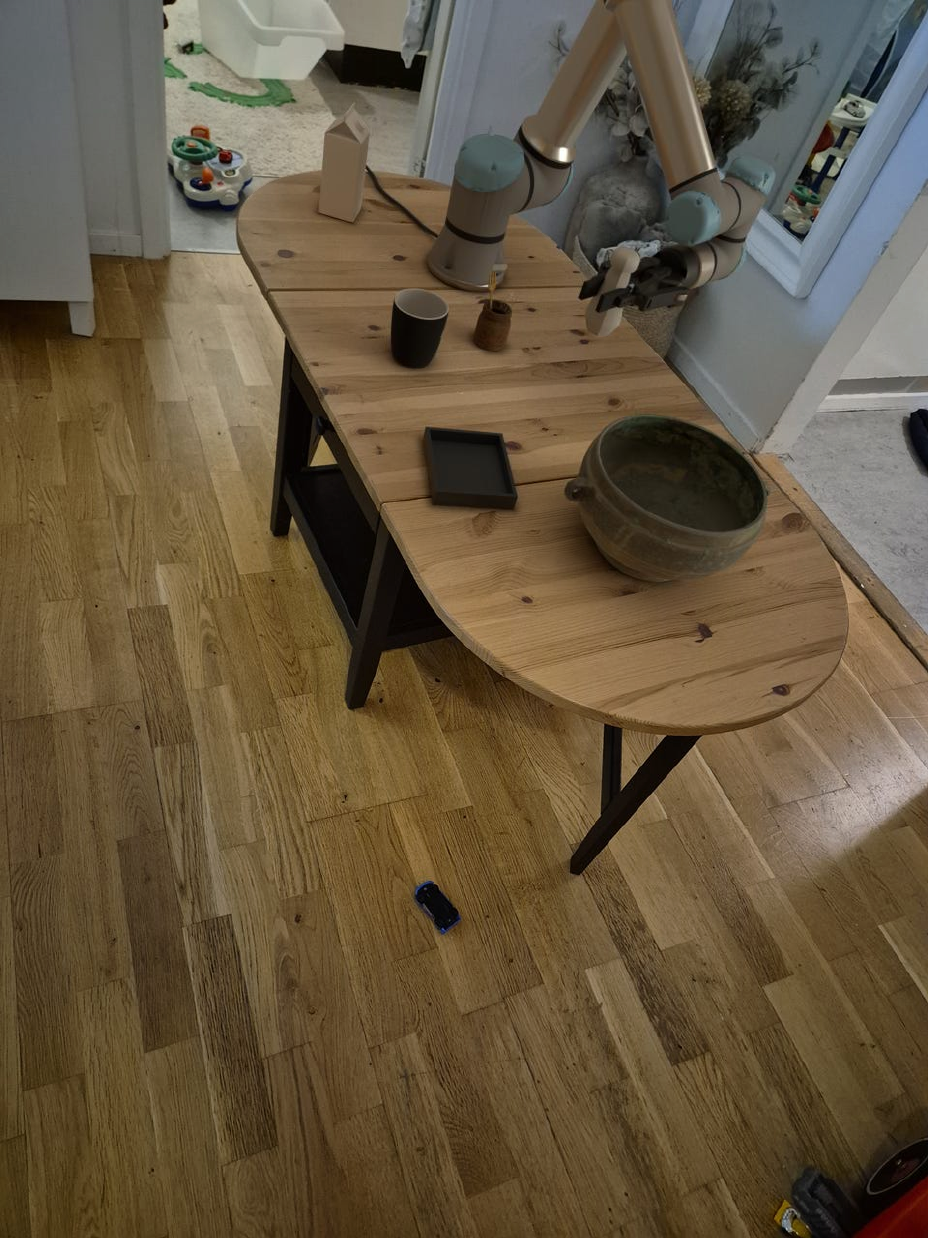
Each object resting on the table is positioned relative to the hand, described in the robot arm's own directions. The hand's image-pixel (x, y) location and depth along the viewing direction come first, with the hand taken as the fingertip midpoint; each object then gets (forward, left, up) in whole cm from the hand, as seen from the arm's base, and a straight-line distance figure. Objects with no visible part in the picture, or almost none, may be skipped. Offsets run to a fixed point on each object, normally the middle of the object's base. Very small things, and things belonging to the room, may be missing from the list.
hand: (591, 297), depth 120 cm
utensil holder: (-18, -8, -21) cm, 28 cm away
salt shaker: (-3, +4, -7) cm, 9 cm away
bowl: (+31, +8, -21) cm, 38 cm away
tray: (+18, -17, -21) cm, 33 cm away
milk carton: (-59, -33, -21) cm, 71 cm away
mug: (-12, -23, -21) cm, 33 cm away
